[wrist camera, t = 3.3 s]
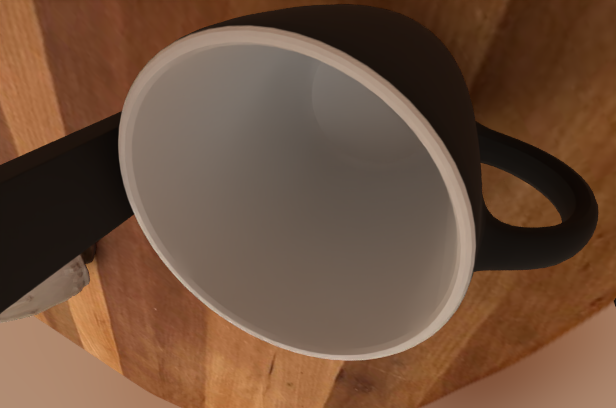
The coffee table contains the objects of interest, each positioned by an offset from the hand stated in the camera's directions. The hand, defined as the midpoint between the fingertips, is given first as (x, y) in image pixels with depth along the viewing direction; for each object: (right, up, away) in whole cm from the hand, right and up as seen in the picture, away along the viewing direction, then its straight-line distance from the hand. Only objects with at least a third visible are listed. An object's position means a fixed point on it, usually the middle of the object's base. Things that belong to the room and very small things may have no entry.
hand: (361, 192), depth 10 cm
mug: (+3, +4, +6) cm, 8 cm away
